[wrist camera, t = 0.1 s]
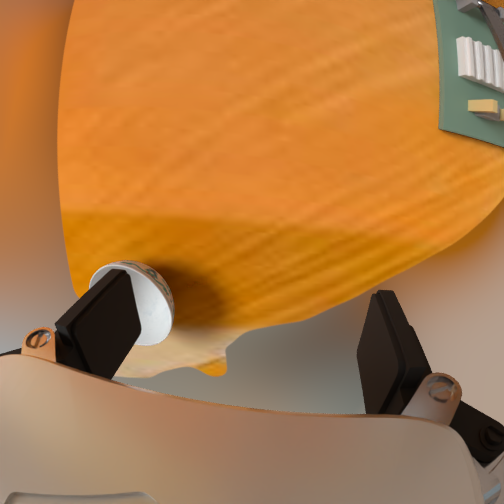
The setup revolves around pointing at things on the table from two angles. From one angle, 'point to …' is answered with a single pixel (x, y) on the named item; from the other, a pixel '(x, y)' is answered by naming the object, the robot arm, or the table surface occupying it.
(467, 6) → the clamp board
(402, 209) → the table surface
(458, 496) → the robot arm
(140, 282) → the chinaware
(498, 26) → the grey hinged clamp lever
